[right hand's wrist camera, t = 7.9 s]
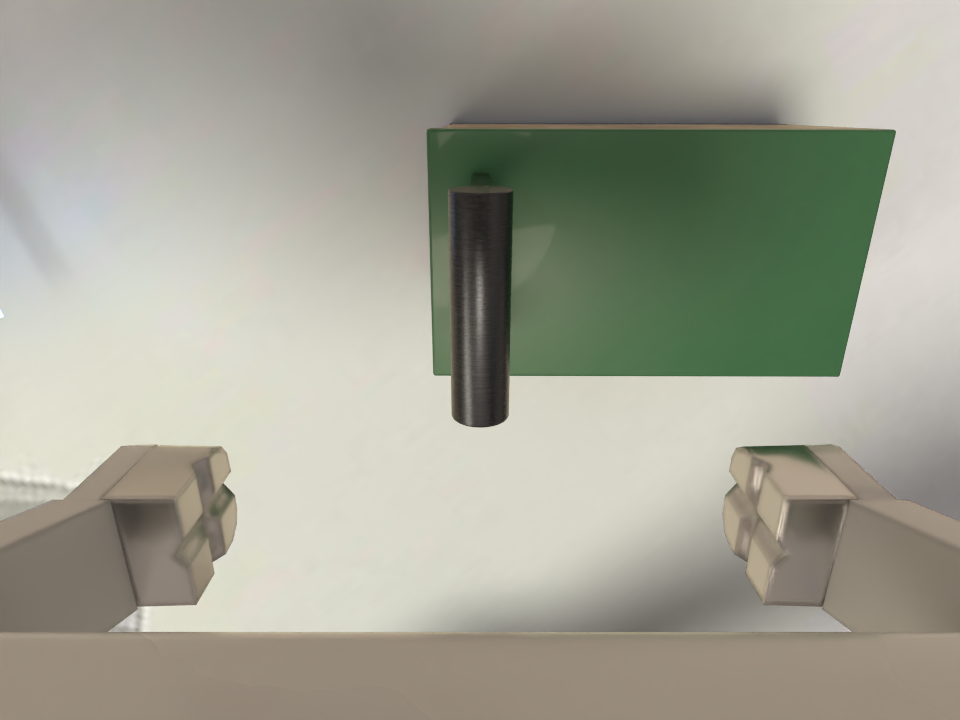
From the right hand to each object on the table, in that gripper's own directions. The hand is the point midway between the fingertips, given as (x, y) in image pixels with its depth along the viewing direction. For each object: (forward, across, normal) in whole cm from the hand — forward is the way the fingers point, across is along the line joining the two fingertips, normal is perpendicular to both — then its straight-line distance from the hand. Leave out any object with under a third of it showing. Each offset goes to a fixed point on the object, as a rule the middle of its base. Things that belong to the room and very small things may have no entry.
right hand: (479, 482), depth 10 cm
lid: (+17, +7, 0) cm, 19 cm away
